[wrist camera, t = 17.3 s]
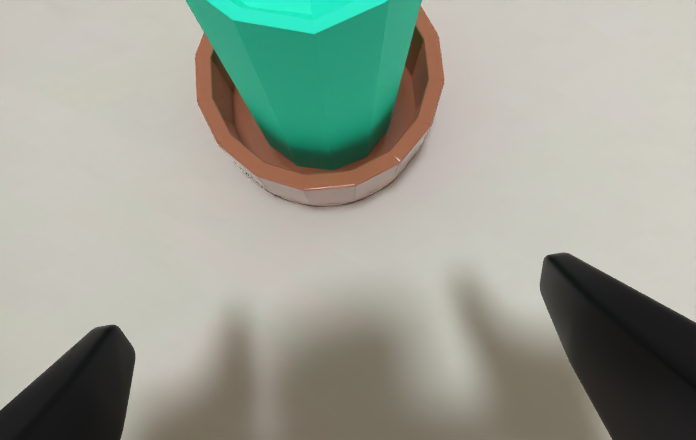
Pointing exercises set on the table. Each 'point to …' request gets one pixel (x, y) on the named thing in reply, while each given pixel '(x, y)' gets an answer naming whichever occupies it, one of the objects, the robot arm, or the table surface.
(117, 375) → the robot arm
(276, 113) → the candle
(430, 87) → the candle dish
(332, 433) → the table surface
